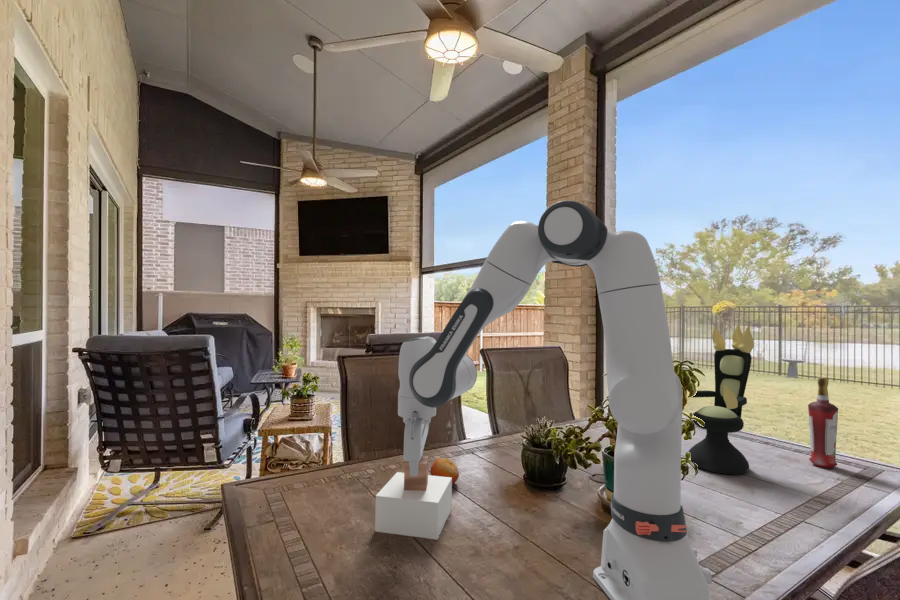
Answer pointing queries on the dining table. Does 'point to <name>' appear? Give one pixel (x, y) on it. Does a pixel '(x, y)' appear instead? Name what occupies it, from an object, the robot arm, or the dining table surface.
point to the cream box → (414, 507)
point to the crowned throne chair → (725, 406)
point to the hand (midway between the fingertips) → (416, 467)
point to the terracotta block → (418, 481)
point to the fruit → (445, 469)
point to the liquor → (823, 427)
